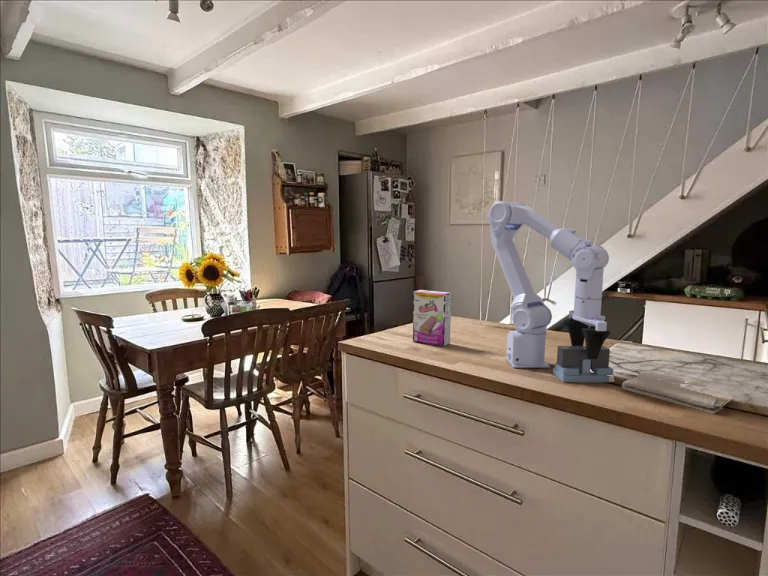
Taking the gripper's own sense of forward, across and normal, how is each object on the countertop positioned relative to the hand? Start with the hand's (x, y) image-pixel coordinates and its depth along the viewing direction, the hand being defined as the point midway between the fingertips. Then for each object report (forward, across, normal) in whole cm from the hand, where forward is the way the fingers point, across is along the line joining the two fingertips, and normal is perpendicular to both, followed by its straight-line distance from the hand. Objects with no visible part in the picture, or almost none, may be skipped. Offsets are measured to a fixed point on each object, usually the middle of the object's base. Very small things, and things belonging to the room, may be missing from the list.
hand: (584, 353), depth 100 cm
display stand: (+6, 0, 0) cm, 6 cm away
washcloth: (+7, -10, -15) cm, 19 cm away
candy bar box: (+6, +32, +33) cm, 46 cm away
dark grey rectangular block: (+3, 0, 0) cm, 3 cm away
